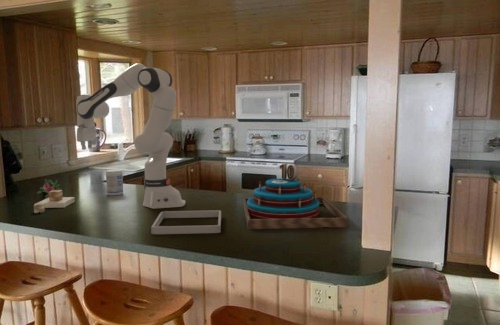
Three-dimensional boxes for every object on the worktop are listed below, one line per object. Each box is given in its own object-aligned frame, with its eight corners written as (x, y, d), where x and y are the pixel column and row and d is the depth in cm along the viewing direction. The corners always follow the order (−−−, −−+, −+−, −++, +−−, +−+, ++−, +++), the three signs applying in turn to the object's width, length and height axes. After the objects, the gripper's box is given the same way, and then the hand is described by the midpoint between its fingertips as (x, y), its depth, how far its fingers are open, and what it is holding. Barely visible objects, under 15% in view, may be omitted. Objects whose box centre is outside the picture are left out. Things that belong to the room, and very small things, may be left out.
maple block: (44, 210, 199) (44, 202, 199) (43, 212, 195) (42, 204, 195) (36, 211, 198) (35, 203, 197) (34, 213, 194) (33, 205, 194)
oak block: (62, 199, 214) (62, 190, 213) (58, 201, 209) (58, 191, 208) (53, 199, 214) (52, 190, 213) (49, 201, 209) (48, 191, 208)
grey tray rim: (221, 216, 186) (221, 210, 186) (220, 232, 161) (220, 225, 160) (161, 217, 185) (161, 211, 184) (151, 234, 159) (150, 227, 158)
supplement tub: (121, 195, 235) (120, 171, 233) (105, 196, 233) (104, 171, 232) (124, 192, 244) (123, 169, 242) (108, 192, 243) (107, 169, 241)
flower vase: (54, 202, 251) (60, 200, 221) (33, 198, 245) (36, 196, 216) (59, 184, 254) (65, 179, 224) (38, 180, 248) (42, 175, 218)
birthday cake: (232, 213, 193) (231, 164, 190) (281, 202, 216) (282, 158, 213) (284, 228, 167) (284, 171, 164) (334, 214, 190) (335, 164, 187)
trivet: (74, 201, 219) (74, 197, 219) (64, 207, 205) (64, 202, 205) (48, 201, 218) (48, 197, 218) (36, 207, 204) (36, 203, 204)
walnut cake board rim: (323, 204, 211) (323, 196, 210) (347, 227, 168) (348, 218, 168) (243, 205, 208) (243, 198, 208) (247, 229, 166) (247, 219, 165)
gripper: (85, 124, 208) (86, 150, 210) (97, 123, 228) (98, 147, 230) (72, 124, 208) (74, 150, 209) (86, 123, 228) (87, 147, 229)
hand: (87, 148), depth 220 cm, fingers open, 8 cm apart
